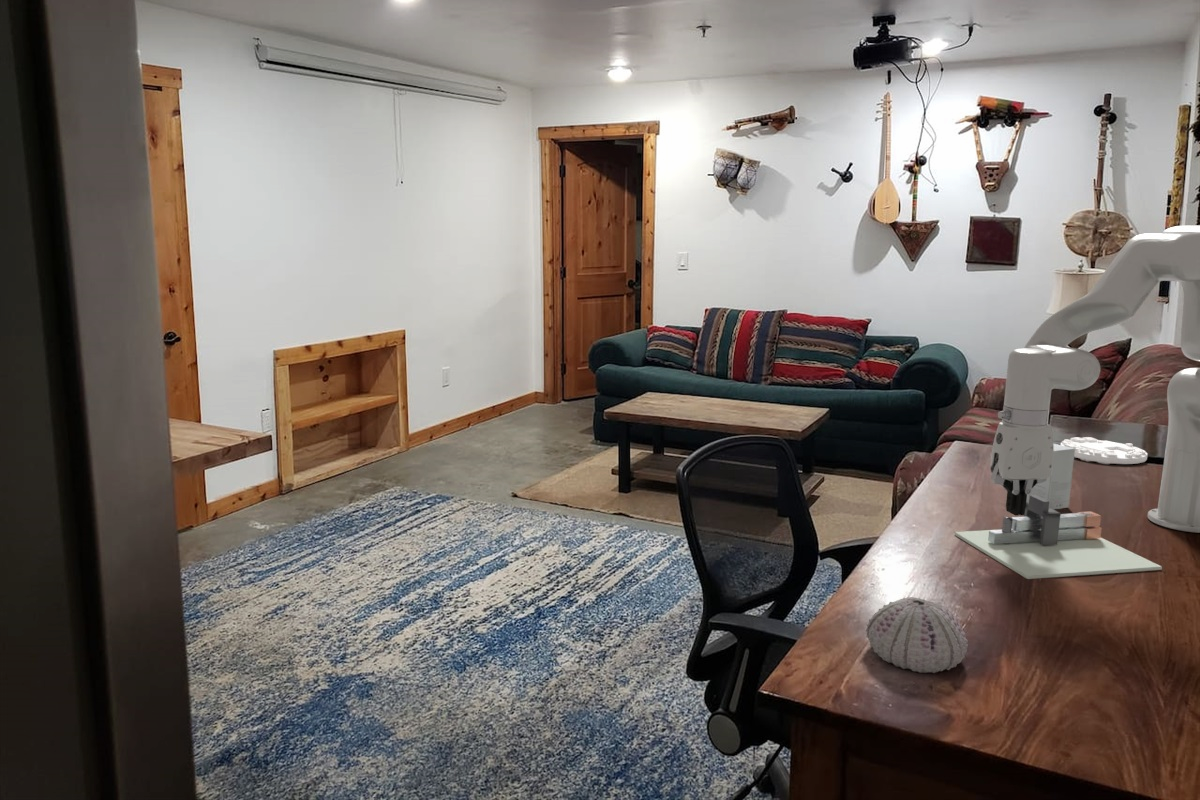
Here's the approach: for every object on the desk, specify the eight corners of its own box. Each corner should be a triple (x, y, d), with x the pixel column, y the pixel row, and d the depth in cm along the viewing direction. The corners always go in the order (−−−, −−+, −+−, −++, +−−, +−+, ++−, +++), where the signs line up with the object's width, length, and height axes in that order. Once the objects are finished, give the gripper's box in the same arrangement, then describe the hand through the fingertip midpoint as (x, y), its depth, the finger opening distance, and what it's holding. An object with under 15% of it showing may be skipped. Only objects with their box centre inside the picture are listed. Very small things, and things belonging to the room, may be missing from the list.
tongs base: (1090, 538, 171) (1093, 510, 170) (1100, 542, 168) (1103, 515, 167) (986, 544, 167) (989, 516, 166) (994, 549, 164) (997, 521, 163)
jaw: (1090, 521, 170) (1091, 511, 170) (1100, 525, 168) (1101, 515, 168) (1008, 527, 167) (1009, 516, 167) (1017, 531, 164) (1018, 521, 164)
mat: (1074, 527, 176) (1074, 525, 176) (1161, 569, 155) (1161, 566, 155) (954, 534, 172) (954, 532, 172) (1027, 579, 151) (1027, 575, 150)
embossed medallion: (1163, 467, 223) (1164, 456, 222) (1084, 466, 223) (1085, 455, 223) (1118, 447, 243) (1119, 437, 242) (1046, 446, 243) (1047, 436, 242)
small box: (1069, 508, 189) (1076, 448, 186) (1046, 511, 187) (1053, 451, 184) (1039, 497, 196) (1045, 440, 194) (1016, 500, 194) (1022, 442, 192)
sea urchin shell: (980, 654, 124) (986, 600, 123) (944, 691, 114) (949, 633, 113) (889, 625, 133) (893, 575, 131) (848, 657, 123) (852, 603, 121)
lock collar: (1036, 533, 170) (1040, 493, 169) (1057, 544, 164) (1061, 502, 163) (1022, 534, 170) (1026, 493, 168) (1042, 545, 164) (1047, 503, 162)
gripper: (1000, 422, 157) (990, 521, 160) (1076, 420, 159) (1064, 517, 163) (975, 413, 164) (966, 508, 167) (1048, 411, 166) (1037, 505, 170)
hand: (1015, 512), depth 165 cm, fingers closed
